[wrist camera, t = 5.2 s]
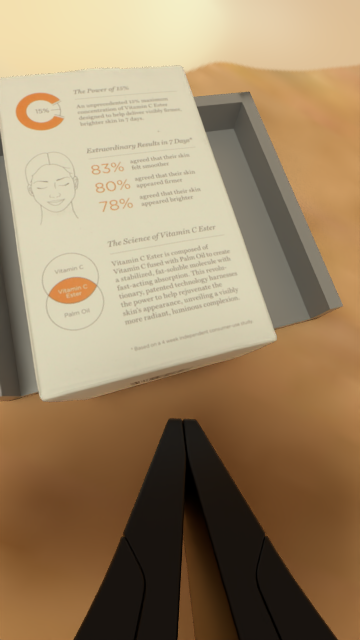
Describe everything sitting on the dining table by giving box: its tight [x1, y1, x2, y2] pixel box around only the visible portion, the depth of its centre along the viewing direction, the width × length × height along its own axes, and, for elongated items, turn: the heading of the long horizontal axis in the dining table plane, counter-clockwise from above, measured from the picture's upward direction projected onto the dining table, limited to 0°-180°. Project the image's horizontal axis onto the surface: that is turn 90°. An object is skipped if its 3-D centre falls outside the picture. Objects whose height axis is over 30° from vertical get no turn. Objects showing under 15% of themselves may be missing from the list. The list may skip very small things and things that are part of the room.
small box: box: [0, 65, 277, 402], centre depth 13 cm, size 8×6×13 cm
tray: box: [0, 92, 343, 401], centre depth 16 cm, size 15×18×2 cm
